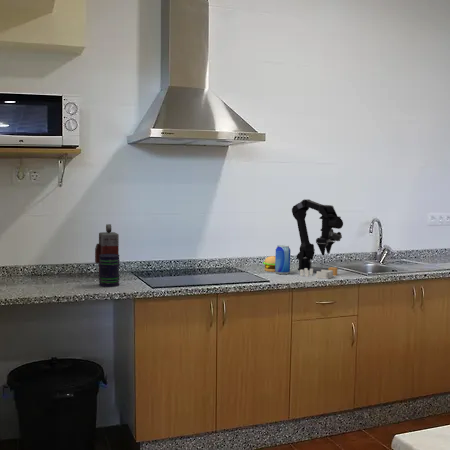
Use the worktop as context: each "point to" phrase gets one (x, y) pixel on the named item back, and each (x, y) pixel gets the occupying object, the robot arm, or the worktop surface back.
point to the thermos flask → (107, 243)
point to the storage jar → (109, 270)
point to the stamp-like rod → (324, 269)
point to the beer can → (282, 260)
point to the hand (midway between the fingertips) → (325, 254)
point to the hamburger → (270, 264)
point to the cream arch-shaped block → (324, 274)
